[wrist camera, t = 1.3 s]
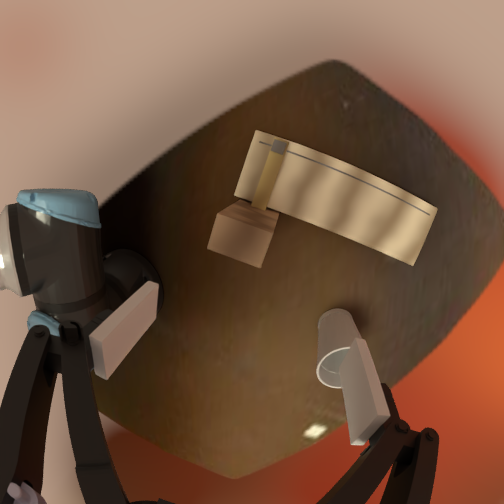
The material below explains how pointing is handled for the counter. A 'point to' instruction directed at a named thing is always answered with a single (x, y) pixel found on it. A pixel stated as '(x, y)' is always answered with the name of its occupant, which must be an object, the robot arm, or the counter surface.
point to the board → (340, 199)
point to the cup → (334, 344)
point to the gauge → (250, 217)
